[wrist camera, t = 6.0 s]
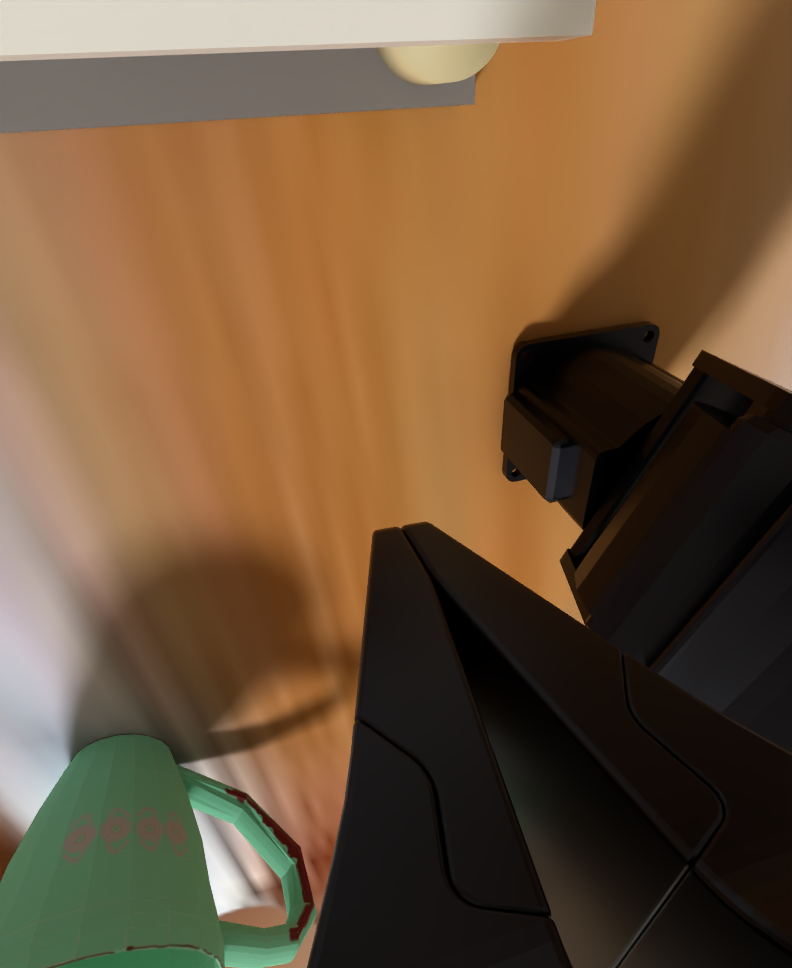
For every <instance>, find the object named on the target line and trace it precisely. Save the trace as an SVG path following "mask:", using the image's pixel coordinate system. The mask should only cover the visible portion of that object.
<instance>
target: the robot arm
mask: <svg viewBox="0 0 792 968" xmlns="http://www.w3.org/2000/svg"><path fill="white" fill-rule="evenodd" d="M646 332H648V334H647V336H646V337H645V338H643V337H644V335H645V333H646ZM658 338H659V328H658V326H656V325H654V324H652V323H650V322H640V323H633V324H627V325H621V326H615V327H608V328H602V329H596V330H589V331H583V332H577V333H571V334H564V335H558V336H552V337H546V338H539V339H533V340H527V341H523V342H520V343H518V344H517V345H516V346H515V348H514V349H513V351H512V356H511V368H510V381H509V393H508V395H507V397H506V398H505V400H504V413H503V426H502V439H501V450H502V451H503V453H504V455H503V468H502V471H503V474H504V475H505V477H506V478H507V479H508V480H509V481H511V482H514V481H520V480H524V479H527V480H528V481H529V482H530V483H531V485H532V486H533V487H534V488H535V489H536V490H537V491H538V493H539V494H540V495H541V496H542V497H543V498H544V499H545V500H546V501H548V502H549V503H552V502H556V501H557V502H558V503H559V504H560V505H561V506H562V508H563V509H564V510H565V511H566V512H567V513H568V514H569V515H570V516H571V517H572V519H573V520H574V521H575V522H576V523H577V524H578V525H579V526H580V527H581V529H582V530H583V531H582V533H581V534H580V536H579V537H578V539H577V540H576V542H575V543H574V545H573V546H572V548H571V549H567V550H566V552H565V553H564V555H563V556H562V558H561V559H560V563H561V565H562V568H563V570H564V573H565V576H566V578H567V581H568V583H569V586H570V588H571V591H572V593H573V596H574V598H575V601H576V603H577V606H578V608H579V611H580V613H581V616H582V619H583V621H584V624H585V626H584V625H583V624H581V623H580V622H578V621H577V620H575V619H574V618H572V617H571V616H569V615H568V614H566V613H565V612H563V611H562V610H560V609H559V608H557V607H556V606H554V605H553V604H551V603H550V602H548V601H547V600H545V599H544V598H542V597H541V596H539V595H538V594H536V593H535V592H533V591H532V590H530V589H529V588H527V587H526V586H524V585H523V584H521V583H520V582H518V581H517V580H515V579H514V578H512V577H511V576H509V575H508V574H506V573H505V572H503V571H502V570H500V569H498V568H497V567H495V566H494V565H492V564H491V563H489V562H488V561H486V560H485V559H483V558H482V557H480V556H479V555H477V554H476V553H474V552H473V551H471V550H470V549H468V548H467V547H465V546H464V545H462V544H461V543H459V542H458V541H456V540H455V539H453V538H452V537H450V536H449V535H447V534H446V533H444V532H443V531H441V530H440V529H438V528H437V527H435V526H434V525H432V524H430V523H428V522H420V523H414V524H408V525H404V526H403V527H402V528H399V527H391V528H385V529H379V530H375V531H374V533H373V536H372V545H371V556H370V566H369V576H368V586H367V596H366V607H365V617H364V627H363V637H362V647H361V657H360V668H359V678H358V688H357V698H356V708H355V724H354V726H353V735H352V746H351V756H350V763H349V770H348V778H347V785H346V792H345V800H344V806H343V810H342V815H341V820H340V825H339V830H338V835H337V840H336V845H335V850H334V855H333V859H332V863H331V868H330V872H329V876H328V880H327V885H326V889H325V893H324V897H323V902H322V906H321V910H320V915H319V919H318V923H317V927H316V932H315V936H314V940H313V944H312V949H311V953H310V957H309V961H308V966H307V968H792V391H790V390H788V389H786V388H784V387H782V386H779V385H777V384H775V383H773V382H771V381H769V380H766V379H764V378H762V377H760V376H758V375H756V374H753V373H751V372H749V371H747V370H745V369H743V368H740V367H738V366H736V365H734V364H732V363H730V362H727V361H725V360H723V359H721V358H719V357H717V356H714V355H712V354H710V353H708V352H706V351H703V350H702V351H701V352H700V354H699V355H698V357H697V358H696V360H695V361H694V363H693V364H692V366H694V368H693V370H692V371H691V373H690V374H689V376H688V377H687V379H686V380H685V381H683V380H681V379H679V378H677V377H676V376H674V375H672V374H670V373H669V372H667V371H665V370H663V369H661V368H660V367H658V366H656V365H654V364H653V358H654V354H655V350H656V346H657V342H658ZM528 350H529V353H528V356H527V357H526V358H524V359H522V355H523V354H524V353H525V352H526V351H528ZM515 468H517V469H516V470H515V471H514V472H512V470H513V469H515Z"/></svg>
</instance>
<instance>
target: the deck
mask: <svg viewBox="0 0 792 968" xmlns="http://www.w3.org/2000/svg"><path fill="white" fill-rule="evenodd" d="M595 8H596V0H0V61H22V60H49V59H77V58H104V57H131V56H159V55H186V54H213V53H241V52H268V51H295V50H323V49H350V48H377V47H405V46H432V45H459V44H487V43H514V42H541V41H564V40H569V39H574V38H579V37H585V36H590V35H592V32H593V24H594V16H595Z"/></svg>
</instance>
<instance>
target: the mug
mask: <svg viewBox="0 0 792 968" xmlns="http://www.w3.org/2000/svg"><path fill="white" fill-rule="evenodd" d="M192 808H194V809H197V810H199V811H202V812H204V813H207V814H209V815H212V816H215V817H217V818H220V819H222V820H225V821H227V822H230V823H233V825H234V826H235V827H236V828H237V829H238V830H239V831H240V833H241V834H242V835H243V836H244V837H245V838H246V839H247V841H248V842H249V843H250V844H251V845H252V846H253V847H254V849H255V850H256V851H257V852H258V853H259V854H260V855H261V857H262V858H263V859H264V860H265V861H266V862H267V863H268V864H269V866H270V867H271V868H272V869H273V870H274V871H275V872H276V874H277V875H278V876H279V877H280V878H281V882H282V888H283V893H284V899H285V904H286V909H287V915H288V918H287V922H286V924H283V925H279V926H274V927H269V928H259V927H253V926H247V925H241V924H236V923H230V922H225V921H219V919H218V915H217V911H216V907H215V903H214V899H213V894H212V890H211V886H210V882H209V876H208V871H207V865H206V859H205V854H204V848H203V842H202V838H201V835H200V832H199V828H198V825H197V822H196V819H195V816H194V813H193V809H192ZM316 914H317V912H316V908H315V904H314V900H313V896H312V892H311V888H310V884H309V880H308V876H307V872H306V868H305V864H304V860H303V856H302V852H301V847H300V846H299V845H298V844H297V843H296V842H295V841H294V840H293V839H292V838H291V837H290V836H289V835H288V834H287V833H286V832H285V831H284V830H283V829H282V828H281V827H280V826H279V825H278V824H277V823H276V822H275V821H274V820H273V819H272V818H271V817H270V816H269V815H268V814H267V813H266V812H265V811H264V810H263V809H262V808H261V807H260V806H259V805H258V804H257V803H256V802H255V801H254V800H253V799H252V798H251V797H250V796H249V795H248V794H247V793H245V792H242V791H240V790H238V789H235V788H233V787H230V786H228V785H225V784H223V783H221V782H218V781H216V780H213V779H211V778H209V777H206V776H204V775H201V774H199V773H196V772H194V771H192V770H189V769H187V768H184V767H182V766H180V765H177V764H175V761H174V759H173V756H172V754H171V752H170V749H169V747H168V746H167V745H166V744H164V743H163V742H162V741H161V740H158V739H156V738H153V737H150V736H144V735H137V734H130V735H117V736H112V737H108V738H104V739H101V740H98V741H96V742H94V743H91V744H89V745H87V746H86V747H84V748H83V749H82V750H80V751H79V752H78V753H77V754H76V755H75V757H74V758H73V760H72V761H71V763H70V764H69V766H68V767H67V769H66V770H65V772H64V773H63V775H62V776H61V778H60V779H59V781H58V782H57V784H56V785H55V787H54V788H53V790H52V791H51V793H50V794H49V796H48V797H47V799H46V800H45V802H44V803H43V805H42V806H41V808H40V810H39V811H38V813H37V815H36V817H35V818H34V820H33V822H32V824H31V825H30V827H29V829H28V831H27V832H26V834H25V836H24V838H23V839H22V841H21V843H20V845H19V846H18V848H17V850H16V852H15V853H14V855H13V857H12V859H11V861H10V862H9V864H8V866H7V868H6V870H5V873H4V875H3V877H2V880H1V882H0V968H225V966H226V967H238V968H263V967H269V966H275V965H280V964H286V963H290V961H292V960H293V958H294V956H295V955H296V953H297V951H298V949H299V947H300V946H301V944H302V942H303V940H304V938H305V937H306V935H307V933H308V931H309V929H310V928H311V926H312V924H313V922H314V920H315V917H316Z"/></svg>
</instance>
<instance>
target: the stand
mask: <svg viewBox="0 0 792 968" xmlns="http://www.w3.org/2000/svg"><path fill="white" fill-rule="evenodd" d="M499 45H500V43H487V44H459V45H432V46H405V47H377V48H350V49H323V50H295V51H268V52H241V53H213V54H186V55H159V56H131V57H104V58H77V59H49V60H22V61H0V133H12V132H28V131H45V130H61V129H78V128H94V127H110V126H127V125H143V124H160V123H176V122H192V121H209V120H225V119H242V118H258V117H274V116H291V115H307V114H324V113H340V112H356V111H373V110H389V109H406V108H422V107H439V106H455V105H471V104H475V73H477V72H478V71H480V70H481V69H482V68H483V67H484V66H485V65H486V64H487V63H488V62H489V60H490V59H491V58H492V56H493V55H494V53H495V52H496V50H497V48H498V46H499Z"/></svg>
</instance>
